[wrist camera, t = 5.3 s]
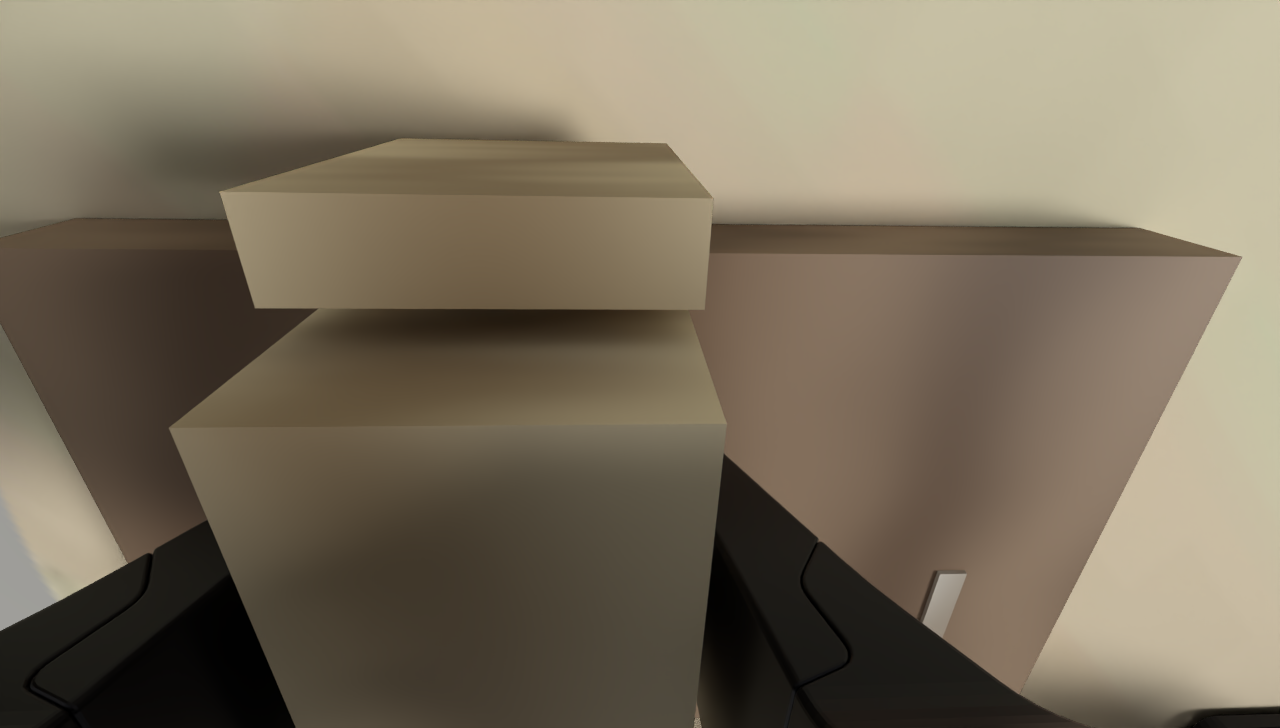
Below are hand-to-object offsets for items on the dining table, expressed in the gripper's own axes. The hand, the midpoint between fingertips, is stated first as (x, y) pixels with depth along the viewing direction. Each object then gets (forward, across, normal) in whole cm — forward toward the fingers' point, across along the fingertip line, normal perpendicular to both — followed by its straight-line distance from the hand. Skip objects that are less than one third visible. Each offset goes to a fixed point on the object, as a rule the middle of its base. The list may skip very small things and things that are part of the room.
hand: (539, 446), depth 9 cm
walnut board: (+3, -2, +3) cm, 5 cm away
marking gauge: (+2, 0, +2) cm, 2 cm away
